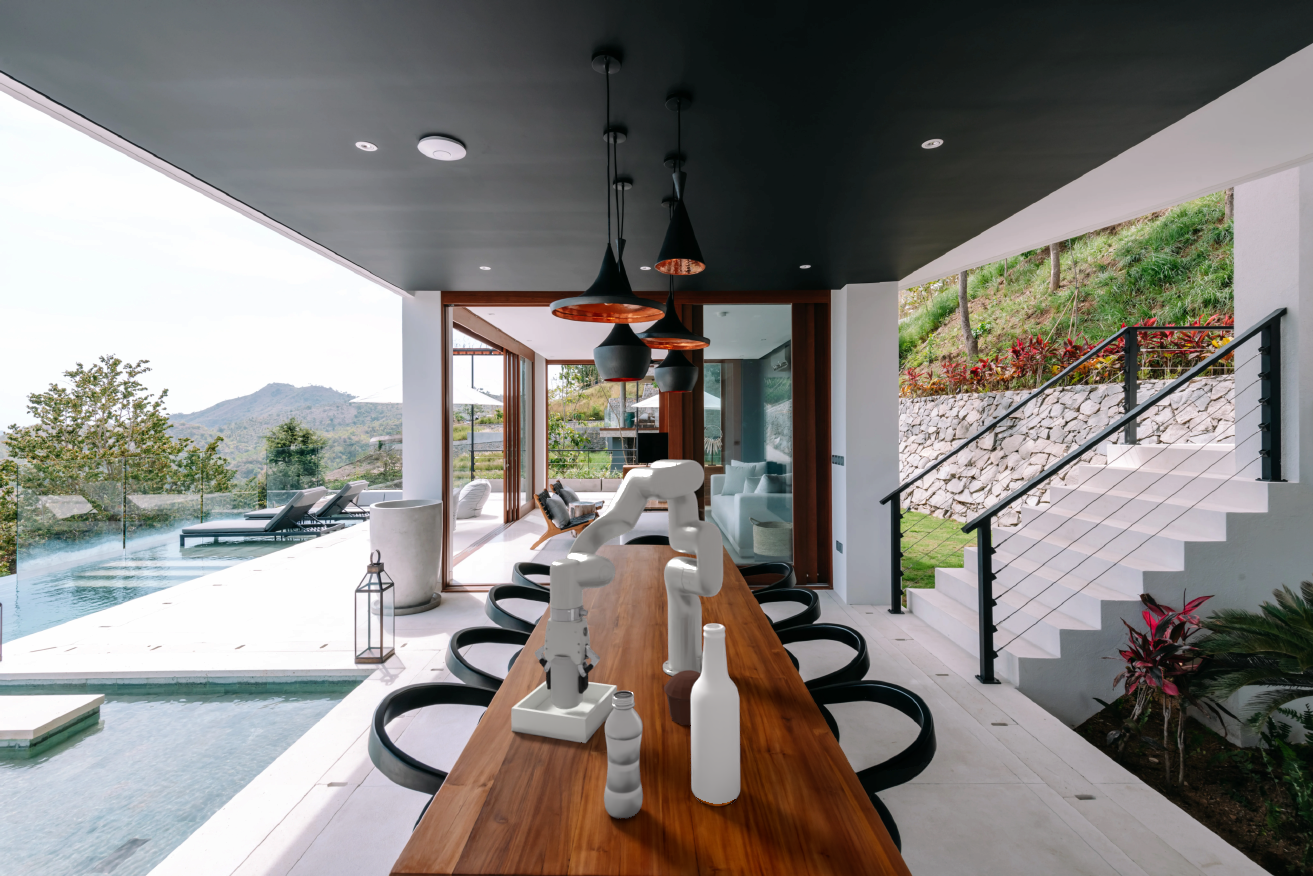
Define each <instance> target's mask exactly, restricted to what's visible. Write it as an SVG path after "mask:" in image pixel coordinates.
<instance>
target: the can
mask: <svg viewBox="0 0 1313 876" xmlns="http://www.w3.org/2000/svg"><path fill="white" fill-rule="evenodd" d="M554 656H555V658H553V659H552V660H551V703H552V704H553V705H554V706H555V707H556V708H559V709H572V708H575V707H577V706H578V705H579V704H580V703H581V702H582V701H583V693H582V694H579V676H580V675H581V674H580V672H579V670H578V665H576V664H575V663H574V662H573V661H572V660H571V659H570V658H571V657H559V656H556V655H554ZM582 665H583V664H582Z"/></svg>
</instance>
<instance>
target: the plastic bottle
mask: <svg viewBox="0 0 1313 876" xmlns="http://www.w3.org/2000/svg"><path fill="white" fill-rule="evenodd" d="M612 700H613V702H612V707H613V708H614V709H613V710H612V712H611V713H610V715H609V716H608V717H607V719H606V720H605V723H604V733H605V734H604V735H605V742H606V750H607V751H606V752H607V772H606V783H605V787H604V795H603V802H604V808H605V811H606V812H607V814H608V815H610V816H611V817H612V818H615V819H619V818H620V820H621V818H625V819H630V818H632V816H633V817H634V816H636V815H637V813H639V811H640V809H641V808H642V804H643V800H644V794H643V788H642V787H643V786H642V782H641V772H640V770H641V769H640V757H641V756H640V755H641V754H640V751H641V744H642V743H641V742H642V736H643V730H644V729H643V727H644V725H643V721H642V718H641V716H640V715H639V714H638V711H636V710H635V708H634V707H635V705H636V703H635V694H634V692H633V691H630V690H617V692H615V693H613V696H612ZM635 814H636V815H635ZM629 817H630V818H629Z"/></svg>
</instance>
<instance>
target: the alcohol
mask: <svg viewBox="0 0 1313 876" xmlns="http://www.w3.org/2000/svg"><path fill="white" fill-rule="evenodd" d="M702 627H703V628H702V629H703V634H702V636H703V646H702V652H703V662H702V672H701V676H700V677H699V679H698V680H697V681H696V682H695V684H694V685H693V688H692V692H691V726H690V754H691V755H690V758H691V759H690V762H691V764H690V766H691V767H690V768H691V771H690V774H691V782H690V783H691V785H690V786H691V791H692V793H693V795H694V796H695V798H696V797H697V798H699V799H701V800H703V801H706V802H709V803H713V804H722V803H727V802H730V801H732V800H734V799H736V800H737V798H738V797H739V796H740V792H741V745H740V744H741V736H740V735H741V734H740V731H741V726H740V722H741V721H740V695H739V691H738V687H737V685H736V684H735V683H734V681H733V680H732V679H731V678H730V676H729V671H728V662H727V651H726V649H727V648H726V632H725V631H726V627H725V626H724V625H723V624H720V623H707V624H705V625H704V626H702ZM697 798H696V799H697Z"/></svg>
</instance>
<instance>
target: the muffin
mask: <svg viewBox="0 0 1313 876" xmlns="http://www.w3.org/2000/svg"><path fill="white" fill-rule="evenodd" d="M700 676H701V673H699V672H697V671H693V670H685V671H681V672H679V673H677V674H675V675H673V676H671V677H670V678H669V679H668V681H667V682H666V684H665V685H664V686H663V689H664V690H663V691H664V693H665V694H666V696H667V697H666V698H667V704H668V711H669V712H668V713H669V716H670V718H671V722H674V723H676V722H677V723H676V724H678V723H679V725H680V724H681V725H680V726H690V725H691V692H692V688H693V685H694V684H695V682H696V681H697V680H698V679H699V677H700Z"/></svg>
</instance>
